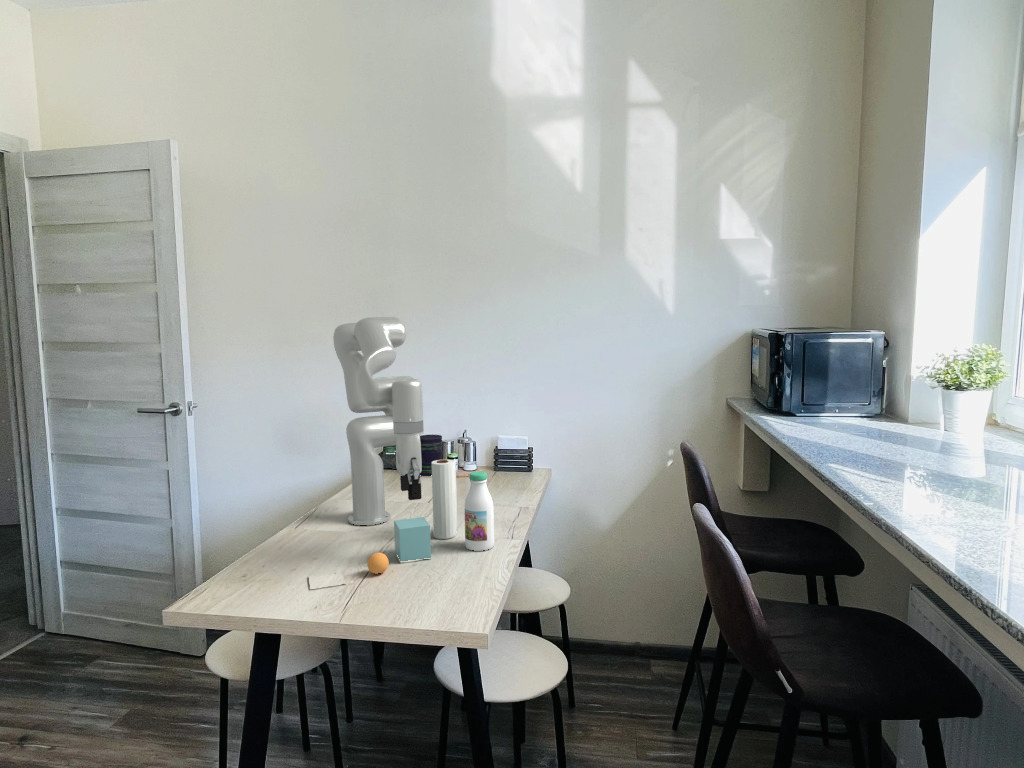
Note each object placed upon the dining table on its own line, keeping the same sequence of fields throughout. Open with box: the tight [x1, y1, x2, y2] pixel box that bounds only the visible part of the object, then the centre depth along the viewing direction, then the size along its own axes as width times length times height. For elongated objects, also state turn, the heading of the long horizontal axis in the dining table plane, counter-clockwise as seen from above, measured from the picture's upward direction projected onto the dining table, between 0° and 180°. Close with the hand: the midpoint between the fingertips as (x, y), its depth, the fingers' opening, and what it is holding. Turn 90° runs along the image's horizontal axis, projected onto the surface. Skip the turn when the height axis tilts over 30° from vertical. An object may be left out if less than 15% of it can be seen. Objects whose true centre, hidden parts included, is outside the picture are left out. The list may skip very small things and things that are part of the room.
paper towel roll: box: [431, 458, 458, 540], centre depth 181 cm, size 7×6×21 cm
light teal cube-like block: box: [393, 516, 432, 562], centre depth 166 cm, size 8×8×9 cm
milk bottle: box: [464, 471, 495, 552], centre depth 172 cm, size 8×8×20 cm
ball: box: [366, 551, 390, 575], centre depth 156 cm, size 5×5×5 cm
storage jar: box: [420, 434, 443, 477], centre depth 256 cm, size 10×10×15 cm
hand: (410, 494), depth 165 cm, fingers open, 9 cm apart
